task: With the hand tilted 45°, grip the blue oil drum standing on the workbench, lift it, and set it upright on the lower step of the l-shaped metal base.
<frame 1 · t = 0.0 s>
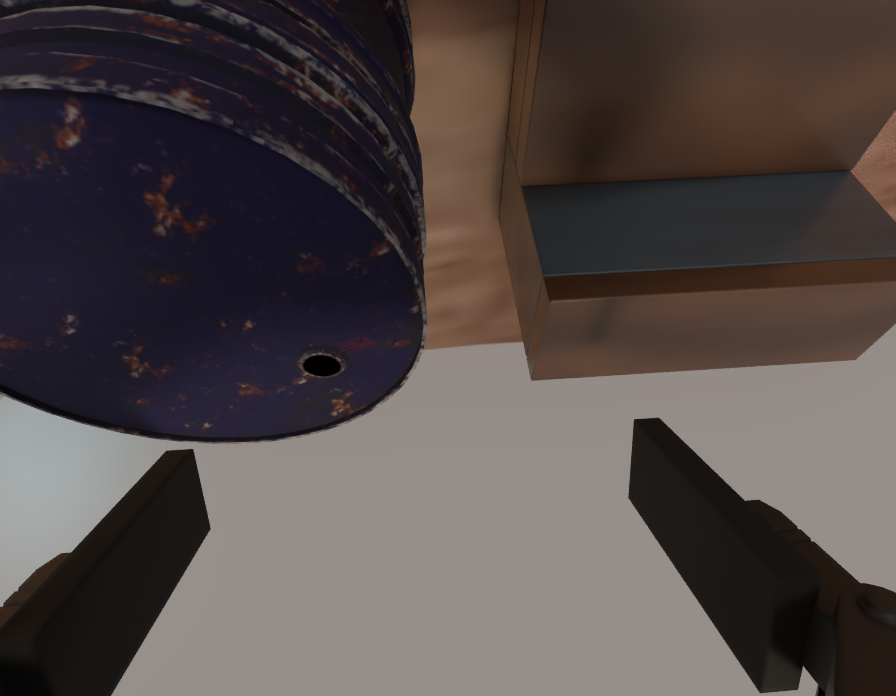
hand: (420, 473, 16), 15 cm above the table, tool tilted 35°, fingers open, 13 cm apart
l-shaped metal base: (688, 38, 21), on the table
blue oil drum: (275, 7, 19), on the table
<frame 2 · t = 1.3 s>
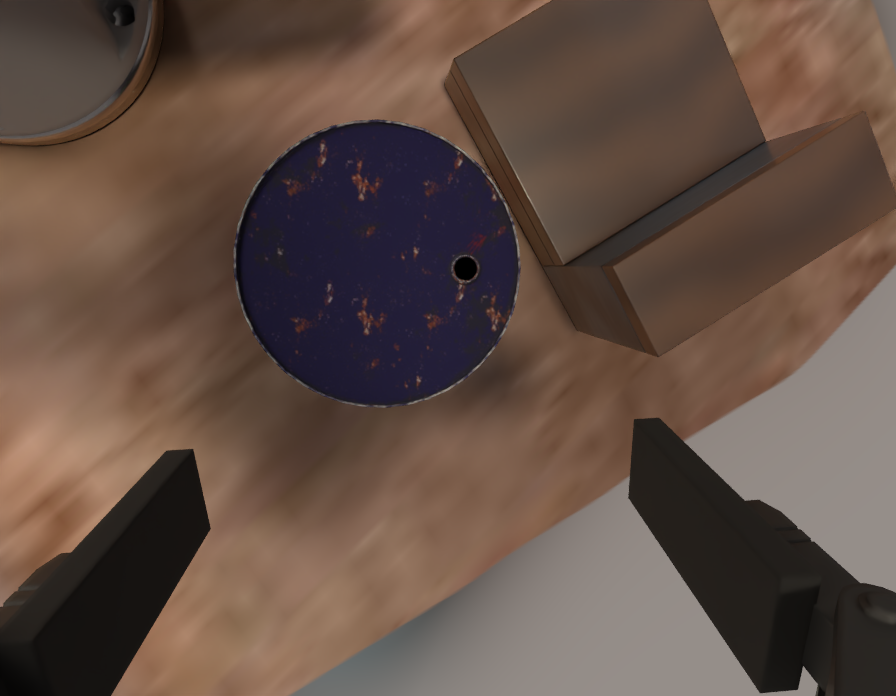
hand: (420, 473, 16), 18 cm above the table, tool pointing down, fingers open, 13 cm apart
l-shaped metal base: (606, 158, 33), on the table
blue oil drum: (379, 267, 32), on the table
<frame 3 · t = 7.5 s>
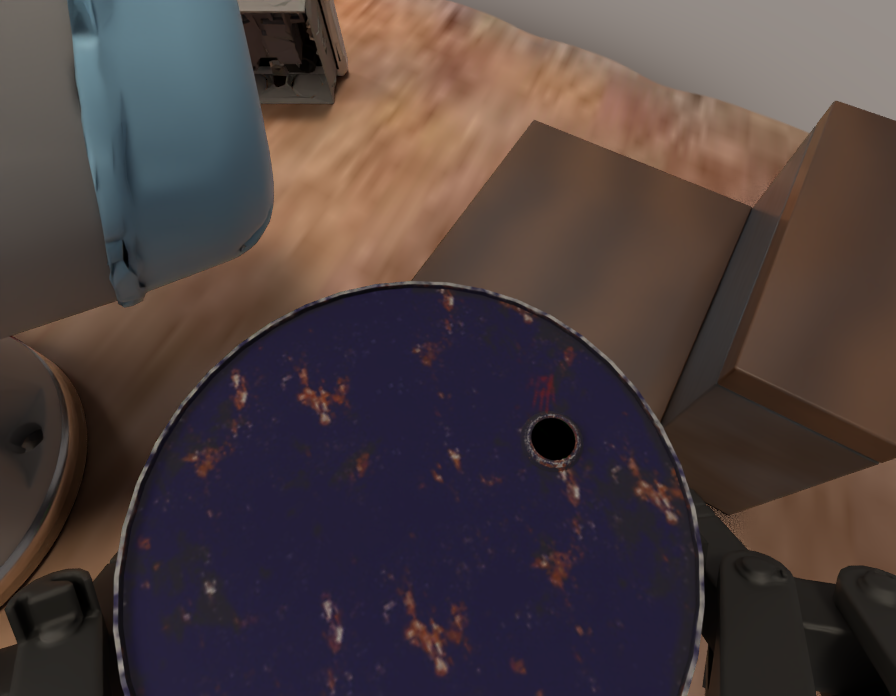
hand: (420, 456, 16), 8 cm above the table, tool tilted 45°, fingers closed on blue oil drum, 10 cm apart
l-shaped metal base: (609, 315, 28), on the table
blue oil drum: (430, 576, 22), on the table, touching gripper
electrical switch: (284, 96, 36), on the table
when the fingers open (12 cm above the table, at t = 16.7 s): blue oil drum stays where it is, resting on l-shaped metal base.
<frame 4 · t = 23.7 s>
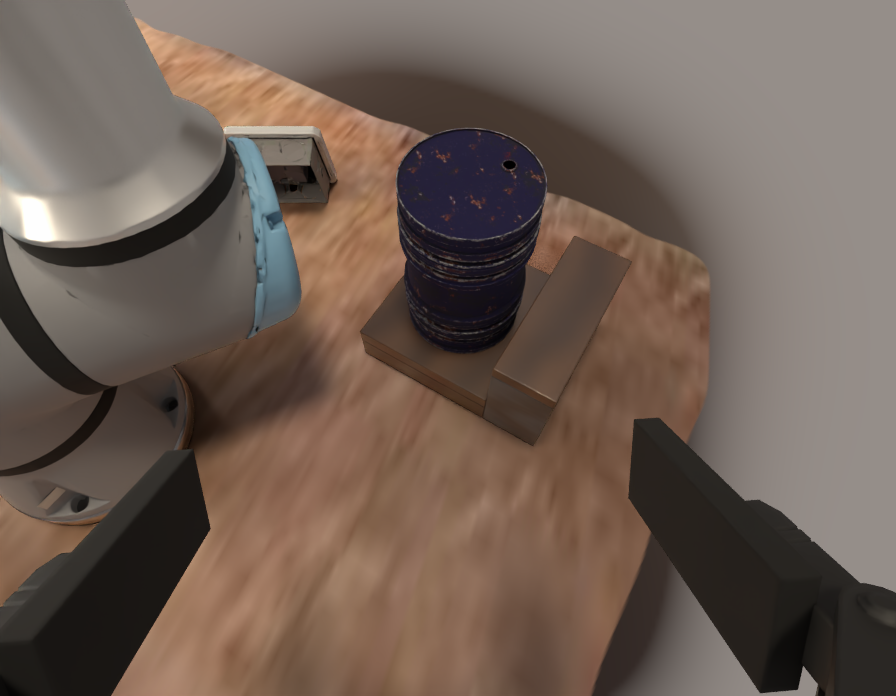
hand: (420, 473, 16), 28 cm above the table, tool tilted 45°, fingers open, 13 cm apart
l-shaped metal base: (483, 338, 49), on the table
blue oil drum: (462, 306, 46), point 4 cm above the table, touching l-shaped metal base
electrical switch: (296, 196, 57), on the table
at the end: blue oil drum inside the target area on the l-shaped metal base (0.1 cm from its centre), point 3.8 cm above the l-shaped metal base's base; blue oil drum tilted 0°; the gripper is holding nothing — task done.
